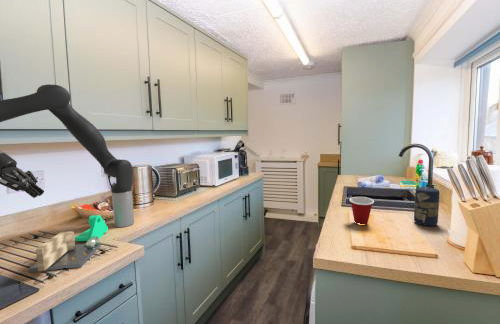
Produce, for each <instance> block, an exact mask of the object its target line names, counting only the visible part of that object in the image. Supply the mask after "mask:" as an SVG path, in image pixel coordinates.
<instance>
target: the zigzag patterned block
mask: <svg viewBox="0 0 500 324" xmlns="http://www.w3.org/2000/svg"><path fill="white" fill-rule="evenodd" d="M75 245H76V240H75V232H74V231H61V232H59V233H58V234H56V235H54V236H53V237H52V238H50V239H48V240H47V241H45V243H43V244H41V245H40V246H39V247H37V248H36V249H35V254H36V255H35V256H36V263H37V264H38V271H41V272H46V271H45V270H46V269H47V268H48V267H50V266H51V265H52V264H53V263H54V262H55V261H56V260H58V259H59V258H60V257H61V256H62V255H63V254H65V253H66V252H67V251H70V250H73V249H74V248H75Z"/></svg>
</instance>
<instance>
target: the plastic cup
mask: <svg viewBox="0 0 500 324" xmlns="http://www.w3.org/2000/svg"><path fill="white" fill-rule="evenodd" d="M349 202H350V204H351V205H350V206H351V209H352V210H351V211H352V216H353V221H355V222H356V223H360V224H367V225H368V224H369V220H370V215H371V210H372V207H373V204H374V203H375V200H374V199H372V198H370V197H366V196H353V197H350V198H349ZM355 222H354V223H355Z"/></svg>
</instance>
